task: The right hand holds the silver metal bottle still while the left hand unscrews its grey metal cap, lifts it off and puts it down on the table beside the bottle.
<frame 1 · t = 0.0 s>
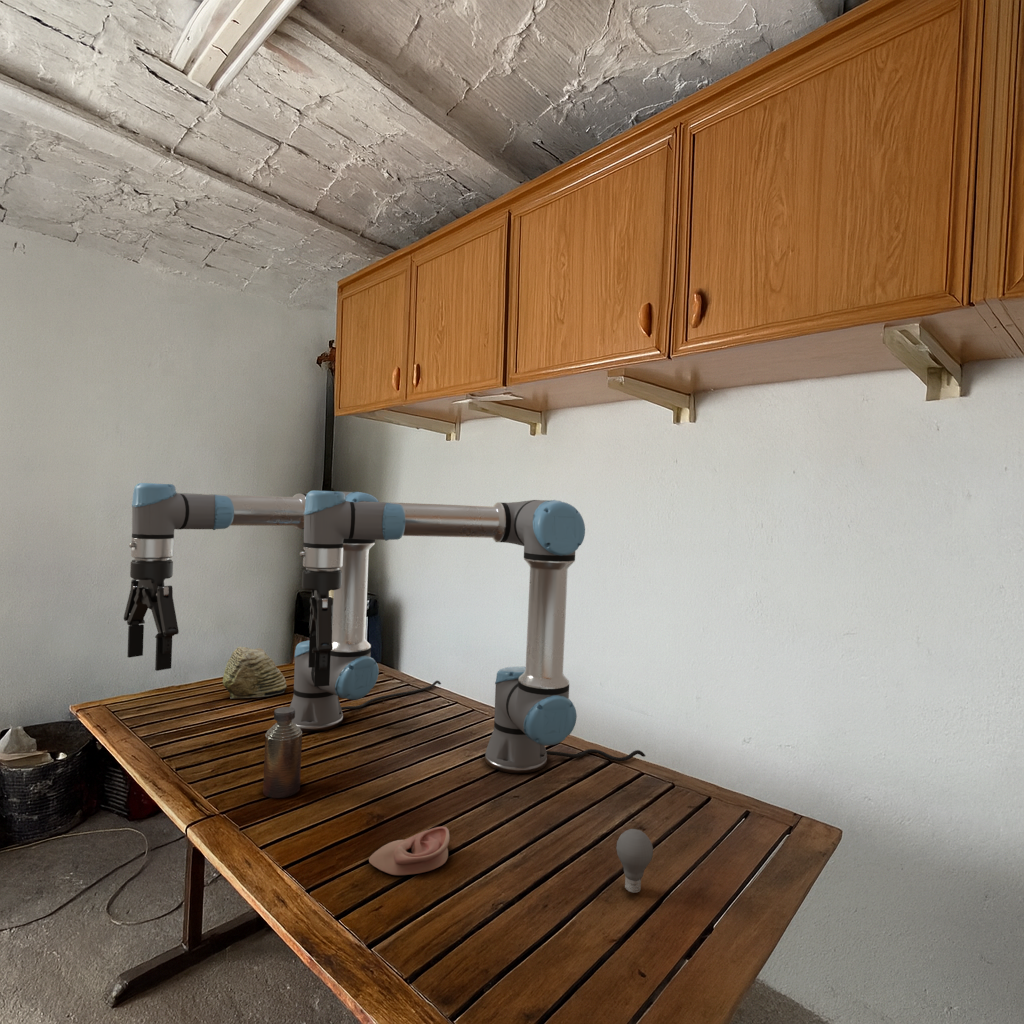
left hand: (148, 662, 129), 28 cm above the table, tool pointing down, fingers open, 13 cm apart
right hand: (318, 676, 125), 28 cm above the table, tool pointing down, fingers open, 13 cm apart
anatomical model: (409, 858, 112), on the table
light bulb: (632, 891, 106), on the table
bottle: (281, 790, 136), on the table
cap: (284, 711, 136), point 17 cm above the table, screwed on, not yet turned
fossil: (254, 694, 198), on the table
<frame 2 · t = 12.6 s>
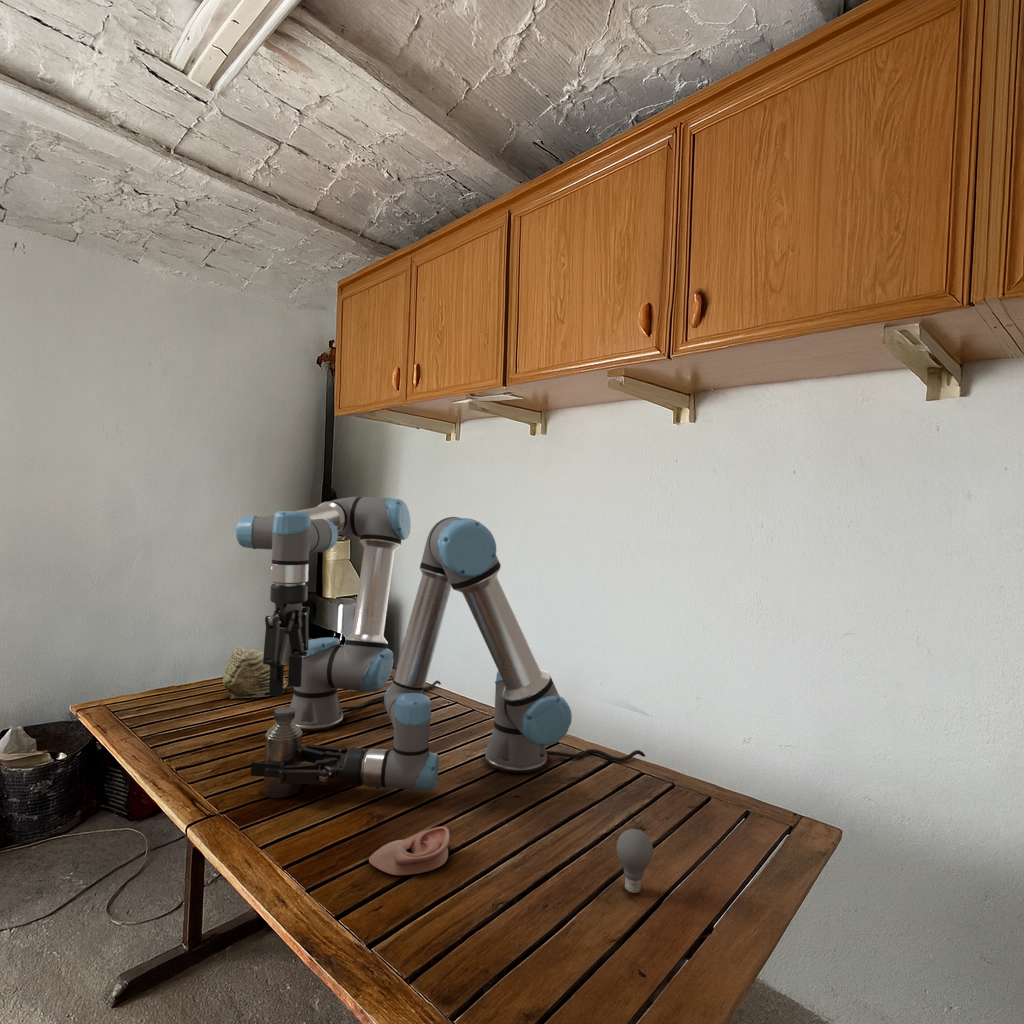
left hand: (285, 690, 136), 22 cm above the table, tool pointing down, fingers open, 6 cm apart
right hand: (260, 760, 136), 6 cm above the table, tool horizontal, fingers closed on bottle, 7 cm apart
bottle: (281, 790, 136), on the table, touching right hand
everything else where it was.
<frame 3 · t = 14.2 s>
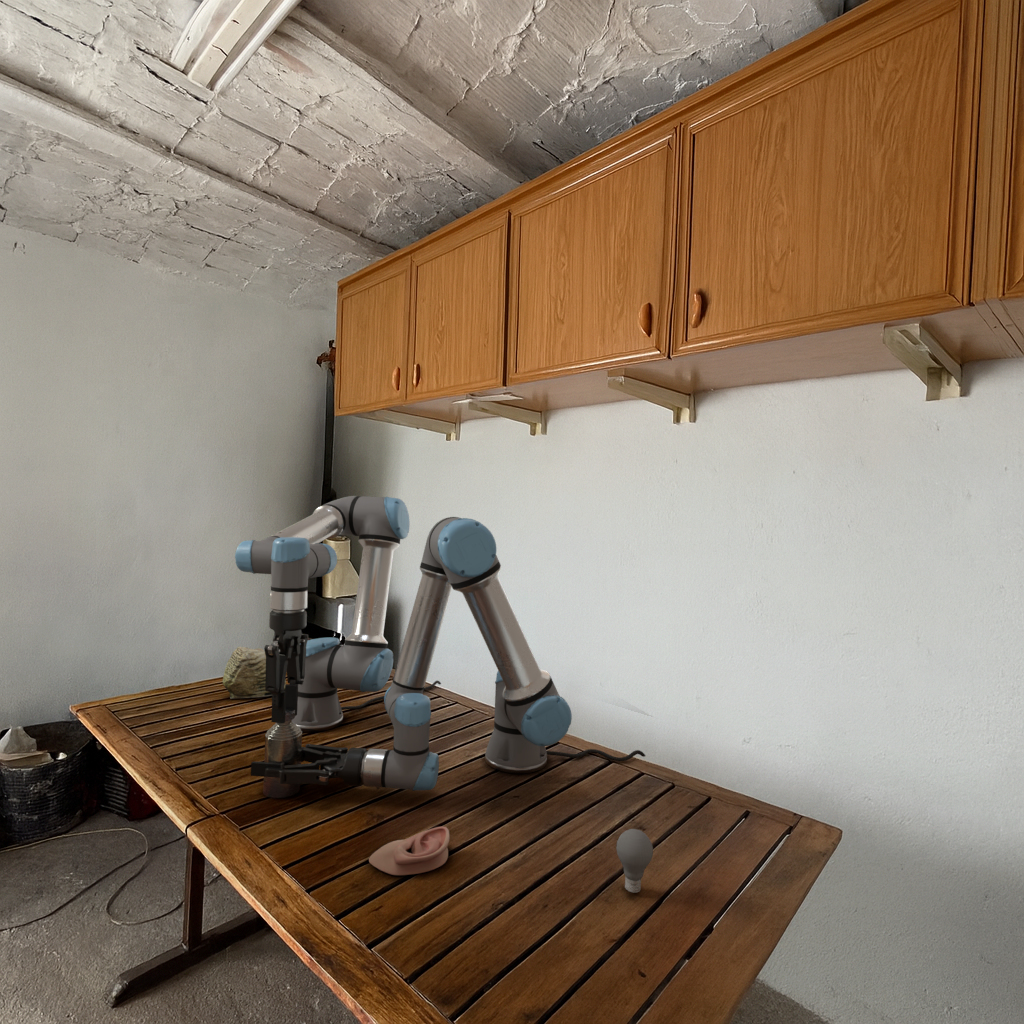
left hand: (284, 718, 136), 16 cm above the table, tool pointing down, fingers closed on cap, 4 cm apart
right hand: (260, 760, 136), 6 cm above the table, tool horizontal, fingers closed on bottle, 7 cm apart
bottle: (281, 790, 136), on the table, touching right hand
cap: (284, 711, 136), point 17 cm above the table, screwed on, not yet turned, touching left hand
everything else where it was.
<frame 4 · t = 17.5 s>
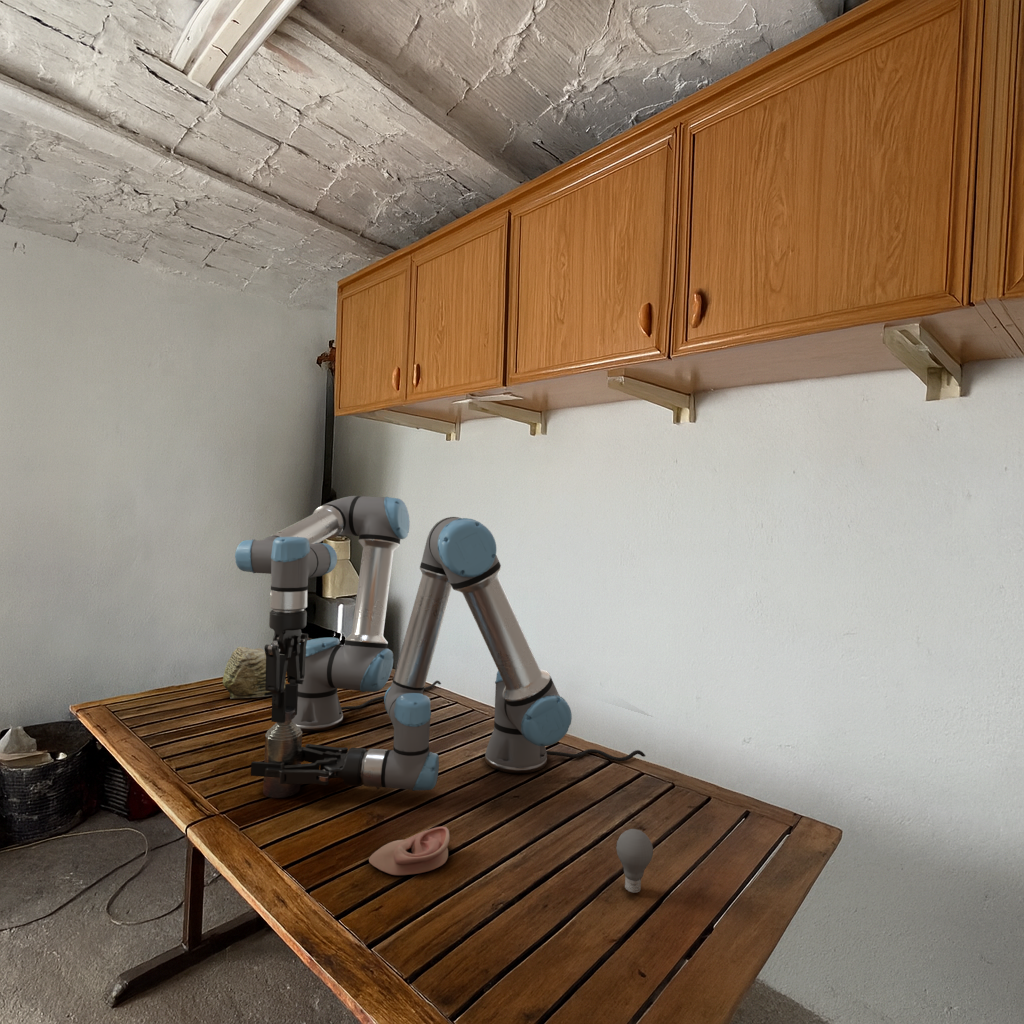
left hand: (284, 717, 136), 16 cm above the table, tool pointing down, fingers closed on cap, 4 cm apart
right hand: (260, 760, 136), 6 cm above the table, tool horizontal, fingers closed on bottle, 7 cm apart
bottle: (281, 790, 136), on the table, touching right hand
cap: (284, 710, 136), point 17 cm above the table, turned 110° so far, risen 0.1 cm, still on its thread, touching left hand
everything else where it was.
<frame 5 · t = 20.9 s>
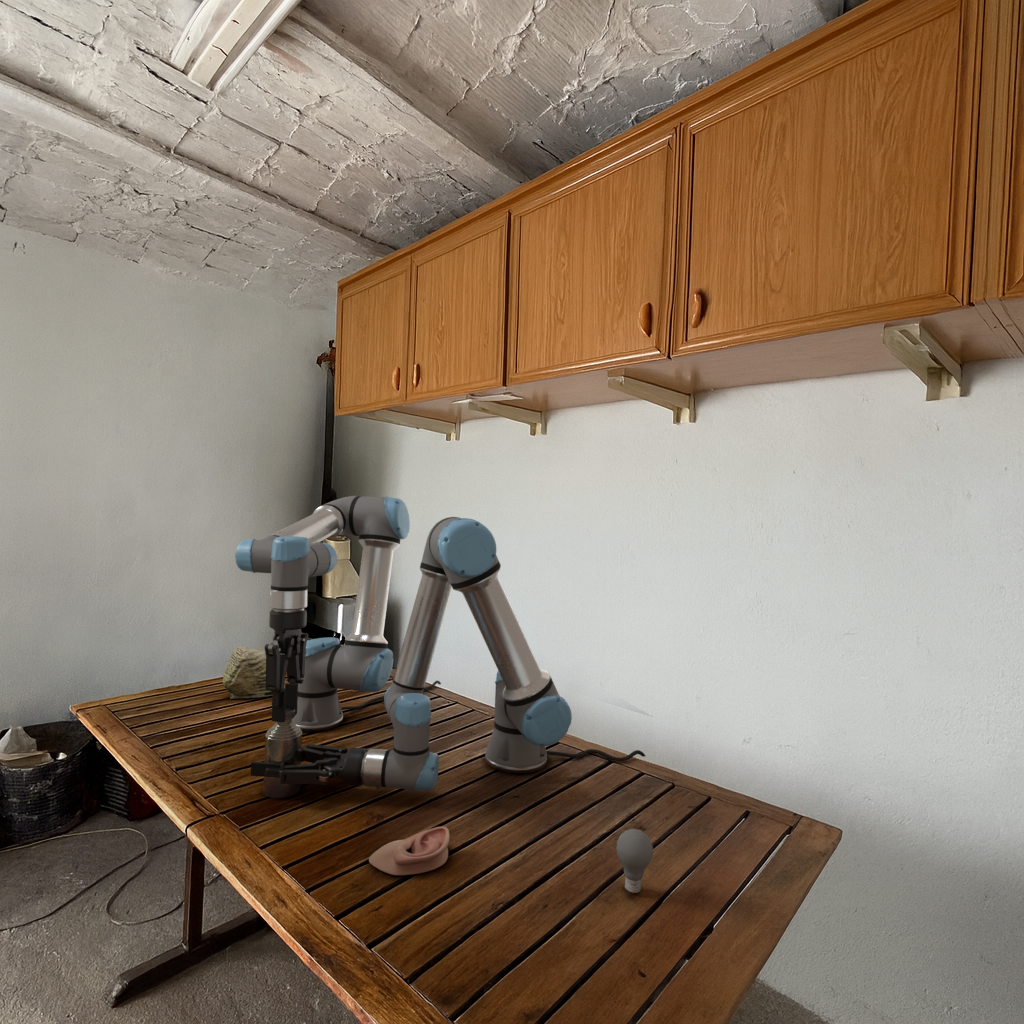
left hand: (284, 717, 136), 16 cm above the table, tool pointing down, fingers closed on cap, 4 cm apart
right hand: (260, 760, 136), 6 cm above the table, tool horizontal, fingers closed on bottle, 7 cm apart
bottle: (281, 790, 136), on the table, touching right hand
cap: (284, 710, 136), point 17 cm above the table, turned 220° so far, risen 0.2 cm, still on its thread, touching left hand
everything else where it was.
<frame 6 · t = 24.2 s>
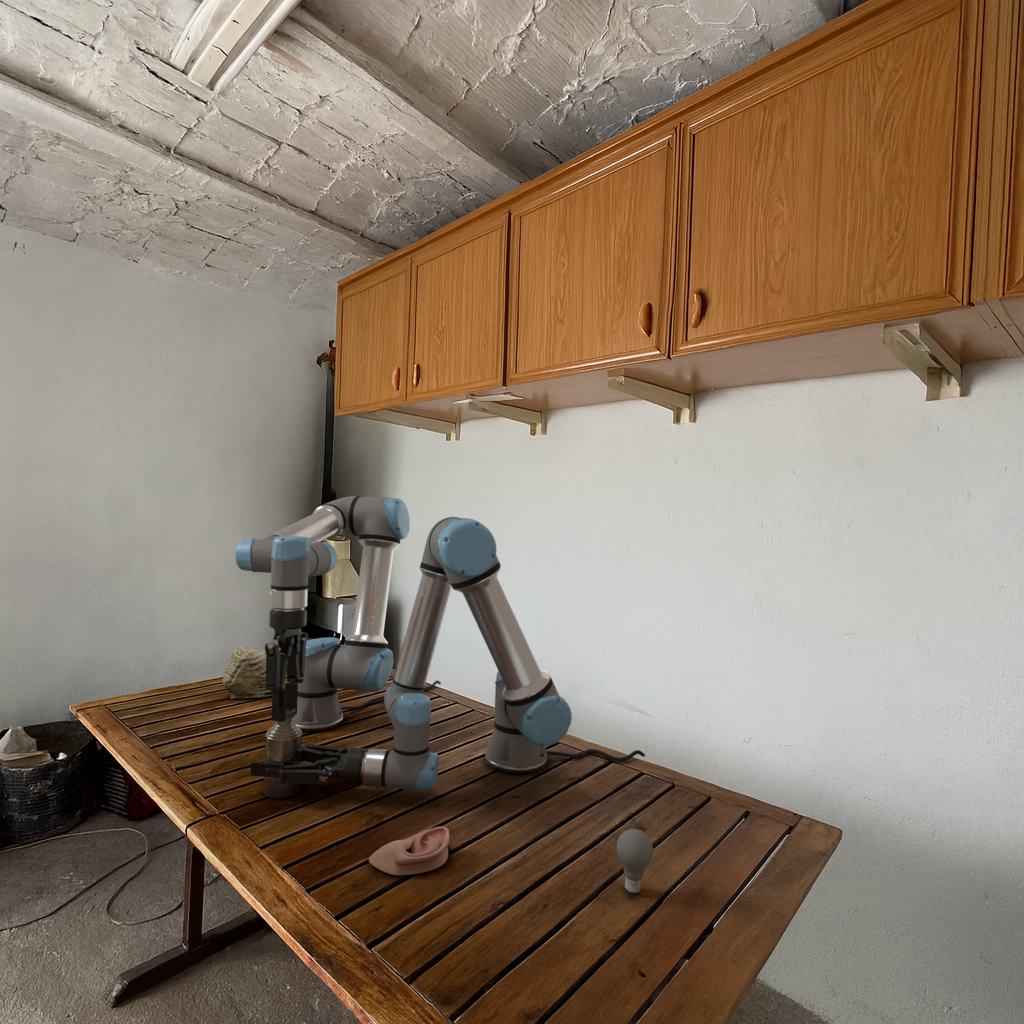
left hand: (284, 716, 136), 16 cm above the table, tool pointing down, fingers closed on cap, 4 cm apart
right hand: (260, 760, 136), 6 cm above the table, tool horizontal, fingers closed on bottle, 7 cm apart
bottle: (281, 790, 136), on the table, touching right hand
cap: (284, 709, 136), point 17 cm above the table, turned 330° so far, risen 0.3 cm, still on its thread, touching left hand
everything else where it was.
when the left hand's fingers open (1 cm above the table, at t = 31.1 s): cap drops 1 cm, point 1 cm above the table.
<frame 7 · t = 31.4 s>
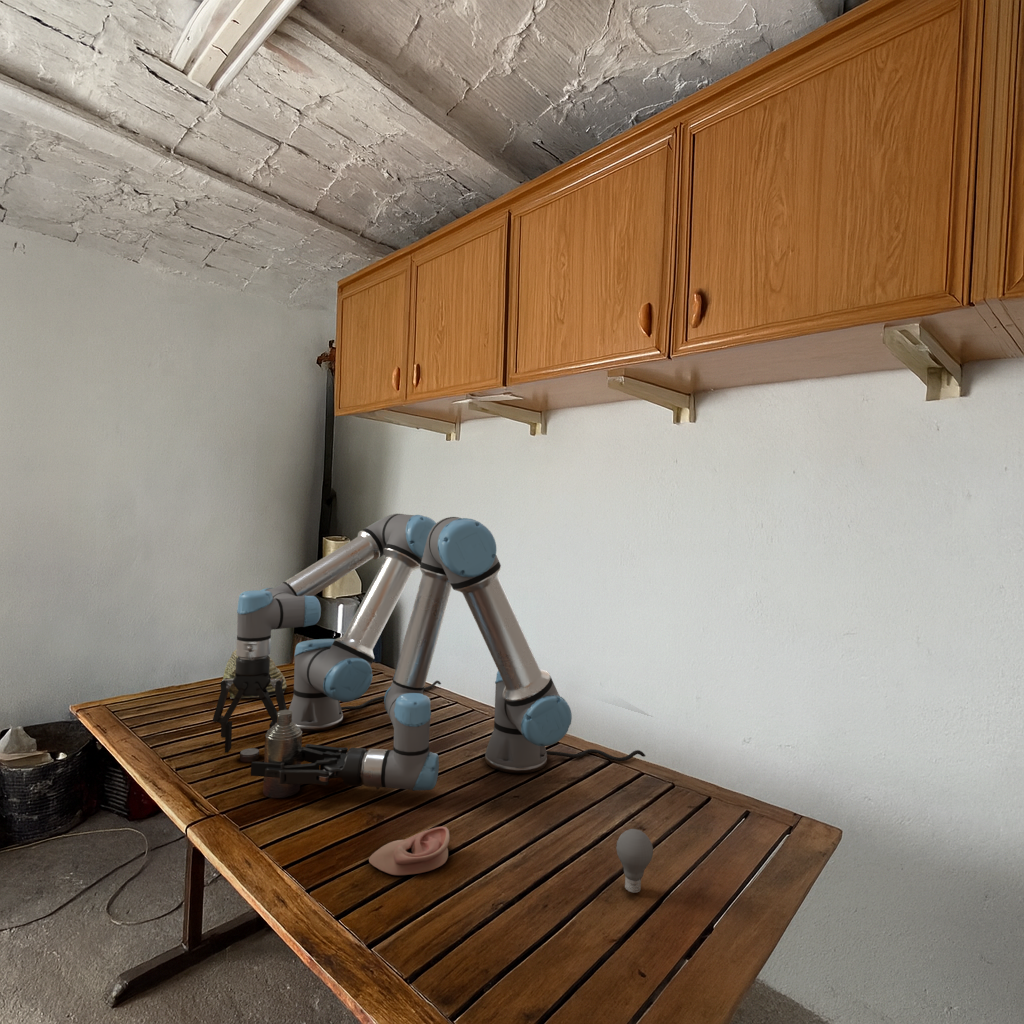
left hand: (249, 749, 151), 2 cm above the table, tool pointing down, fingers open, 9 cm apart
right hand: (260, 760, 136), 6 cm above the table, tool horizontal, fingers closed on bottle, 7 cm apart
bottle: (281, 790, 136), on the table, touching right hand
cap: (249, 752, 151), point 1 cm above the table, off its thread
everything else where it was.
when the right hand's fingers open (6 cm above the table, at t = 32.3 s): bottle stays where it is, on the table.
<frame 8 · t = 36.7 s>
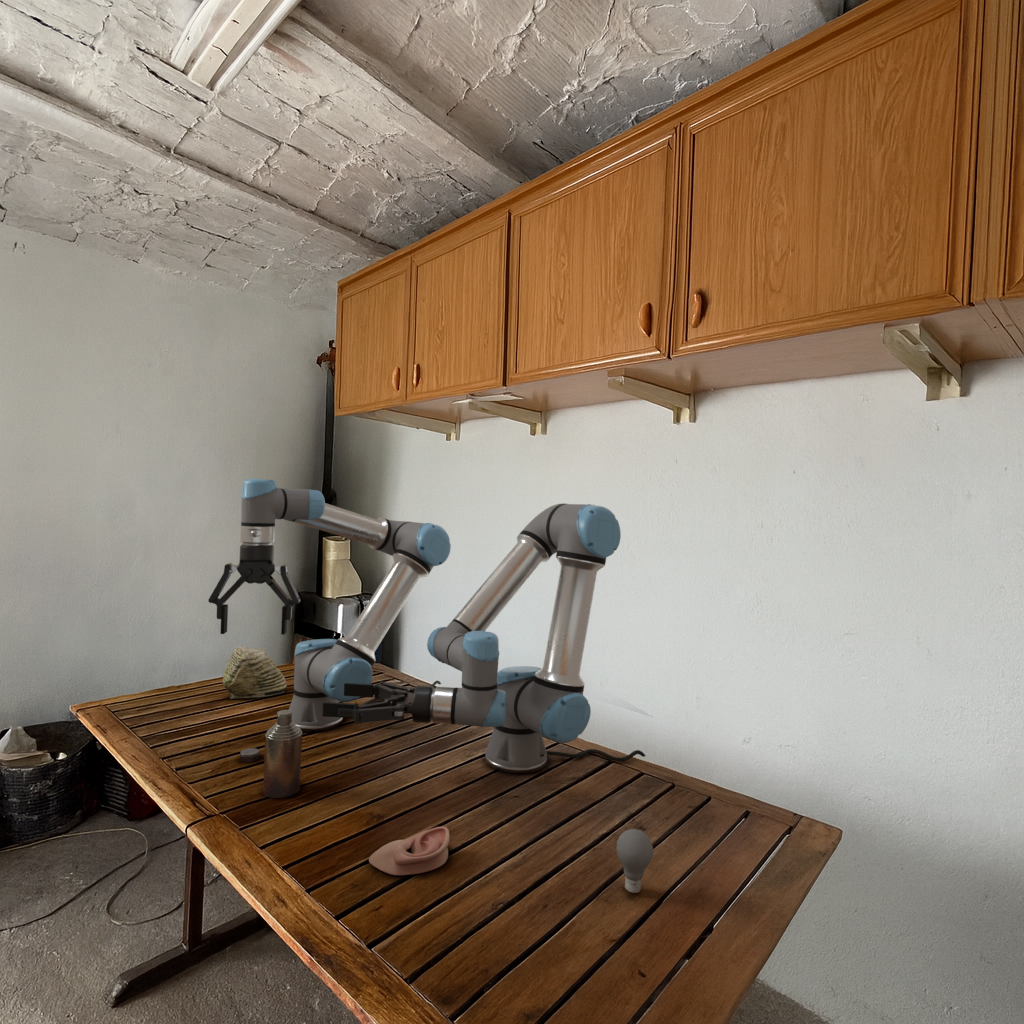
left hand: (254, 633, 150), 30 cm above the table, tool pointing down, fingers open, 13 cm apart
right hand: (334, 698, 135), 20 cm above the table, tool horizontal, fingers open, 13 cm apart
bottle: (281, 790, 136), on the table
everything else where it was.
at the end: cap came off its thread; cap point 1.4 cm above the table; the left hand is holding nothing; the right hand is holding nothing; bottle tilted 0°; bottle moved 0.0 cm from its start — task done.
